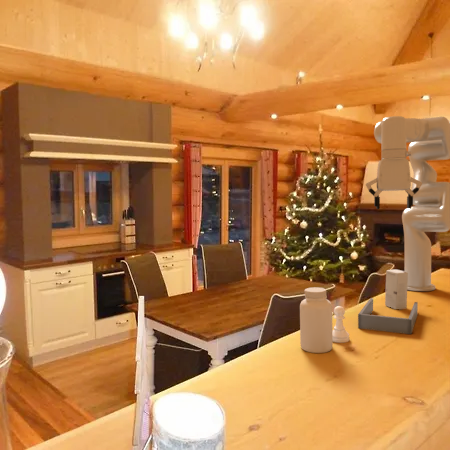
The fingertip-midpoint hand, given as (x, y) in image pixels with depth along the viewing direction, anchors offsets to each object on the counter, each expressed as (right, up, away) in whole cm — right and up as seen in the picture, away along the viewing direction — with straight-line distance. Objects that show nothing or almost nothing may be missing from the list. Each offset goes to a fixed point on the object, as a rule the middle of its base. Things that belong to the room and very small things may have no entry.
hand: (393, 208), depth 148 cm
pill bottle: (-32, -37, -34) cm, 59 cm away
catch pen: (-6, -34, -14) cm, 37 cm away
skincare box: (+2, -33, +2) cm, 33 cm away
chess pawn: (-25, -36, -28) cm, 52 cm away
